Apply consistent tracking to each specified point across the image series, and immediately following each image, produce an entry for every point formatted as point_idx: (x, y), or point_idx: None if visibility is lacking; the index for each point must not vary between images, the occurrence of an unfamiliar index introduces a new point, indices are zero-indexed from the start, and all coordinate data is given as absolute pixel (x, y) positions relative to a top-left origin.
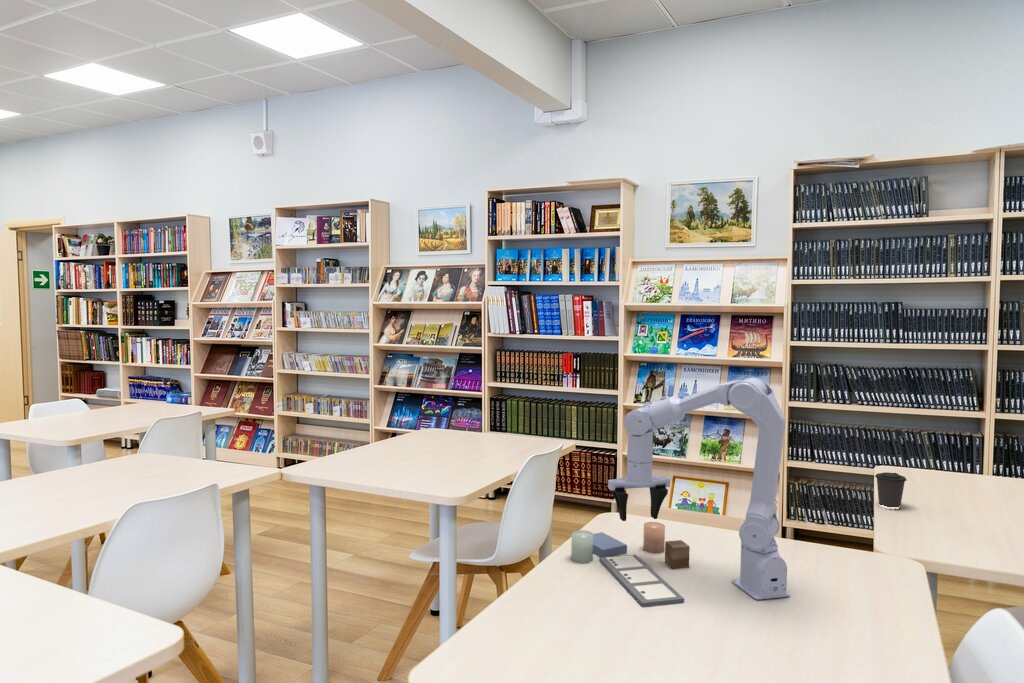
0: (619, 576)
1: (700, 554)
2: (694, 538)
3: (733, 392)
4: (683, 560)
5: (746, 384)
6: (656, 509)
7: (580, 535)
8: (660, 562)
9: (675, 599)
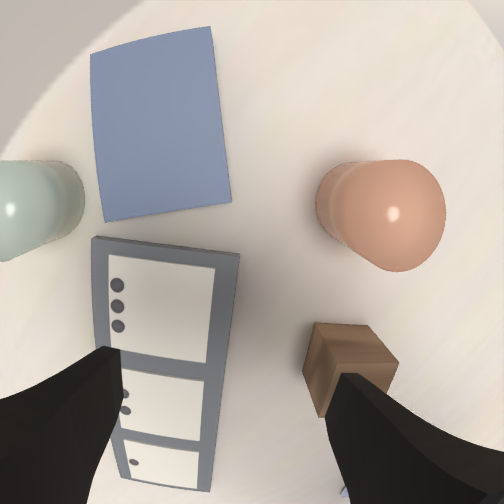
0: None
1: (446, 295)
2: (501, 178)
3: None
4: None
5: None
6: (343, 472)
7: None
8: (301, 318)
9: (190, 489)
